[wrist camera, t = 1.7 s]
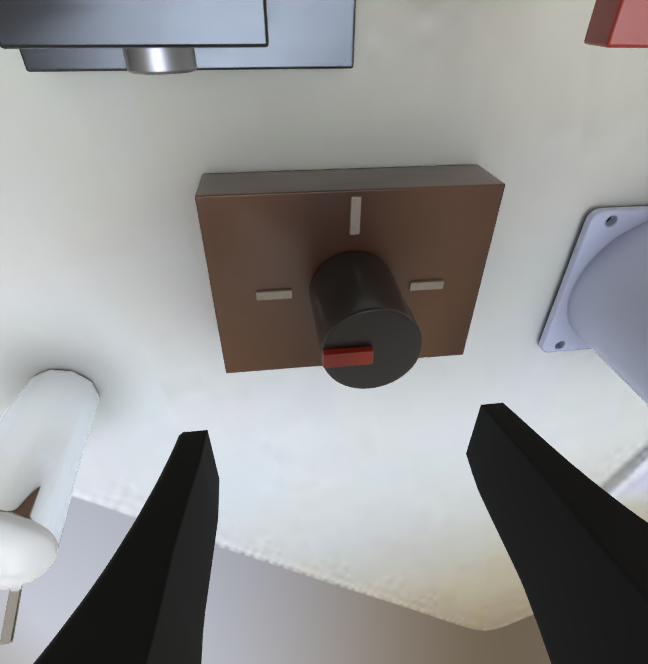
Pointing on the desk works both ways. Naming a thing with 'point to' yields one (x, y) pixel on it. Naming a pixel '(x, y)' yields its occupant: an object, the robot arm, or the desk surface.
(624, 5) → the lever
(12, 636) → the milkshake
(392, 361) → the dial
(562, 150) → the desk surface
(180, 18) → the bracket
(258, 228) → the console
